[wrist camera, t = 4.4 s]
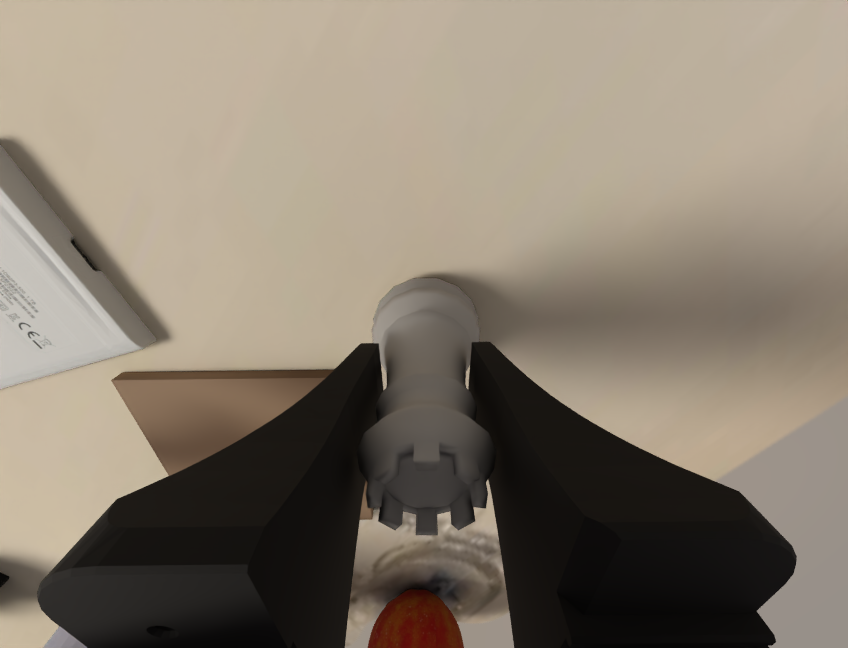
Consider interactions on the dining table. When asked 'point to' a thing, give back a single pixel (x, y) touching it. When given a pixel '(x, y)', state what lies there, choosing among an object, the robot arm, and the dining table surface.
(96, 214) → the dining table surface
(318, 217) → the dining table surface
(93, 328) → the external hard drive
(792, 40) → the dining table surface
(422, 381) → the rook chess piece
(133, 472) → the dining table surface
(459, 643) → the fruit
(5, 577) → the digital camera
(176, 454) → the walnut coaster
